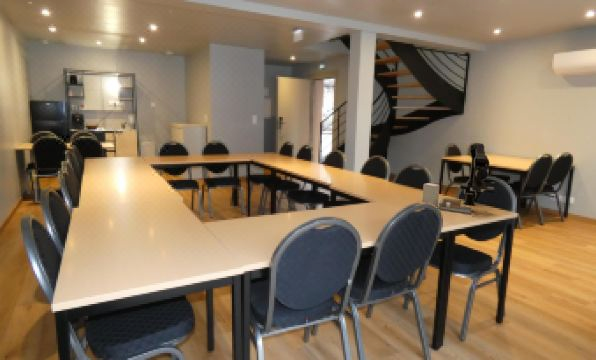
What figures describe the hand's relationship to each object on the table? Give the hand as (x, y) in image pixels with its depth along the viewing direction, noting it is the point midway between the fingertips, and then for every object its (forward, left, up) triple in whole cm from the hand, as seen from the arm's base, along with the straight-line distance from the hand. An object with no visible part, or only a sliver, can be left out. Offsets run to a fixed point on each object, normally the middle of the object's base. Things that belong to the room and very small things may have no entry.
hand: (475, 201), depth 228 cm
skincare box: (+6, -26, -7) cm, 27 cm away
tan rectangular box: (+3, -13, -5) cm, 14 cm away
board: (+2, -11, -6) cm, 13 cm away
